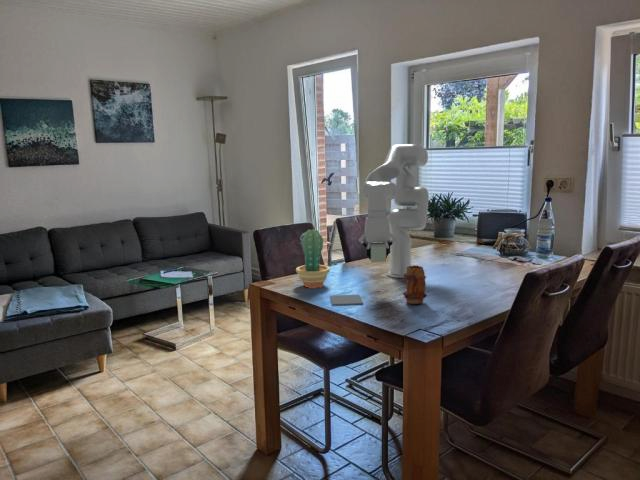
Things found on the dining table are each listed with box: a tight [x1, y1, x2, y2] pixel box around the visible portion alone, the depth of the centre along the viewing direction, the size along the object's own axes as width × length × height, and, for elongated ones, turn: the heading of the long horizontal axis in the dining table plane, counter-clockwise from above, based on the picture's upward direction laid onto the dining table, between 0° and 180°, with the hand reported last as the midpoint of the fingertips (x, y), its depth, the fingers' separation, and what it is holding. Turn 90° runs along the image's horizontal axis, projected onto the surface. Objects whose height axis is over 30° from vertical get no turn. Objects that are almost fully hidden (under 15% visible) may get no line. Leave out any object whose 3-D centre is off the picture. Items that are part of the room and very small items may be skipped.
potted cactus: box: [295, 228, 331, 289], centre depth 220 cm, size 15×15×25 cm
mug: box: [402, 265, 428, 305], centre depth 189 cm, size 15×8×15 cm, turn 5°
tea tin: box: [369, 242, 387, 263], centre depth 205 cm, size 6×6×7 cm
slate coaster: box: [329, 294, 364, 306], centre depth 198 cm, size 12×12×1 cm
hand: (377, 257), depth 206 cm, fingers closed on tea tin, 6 cm apart
